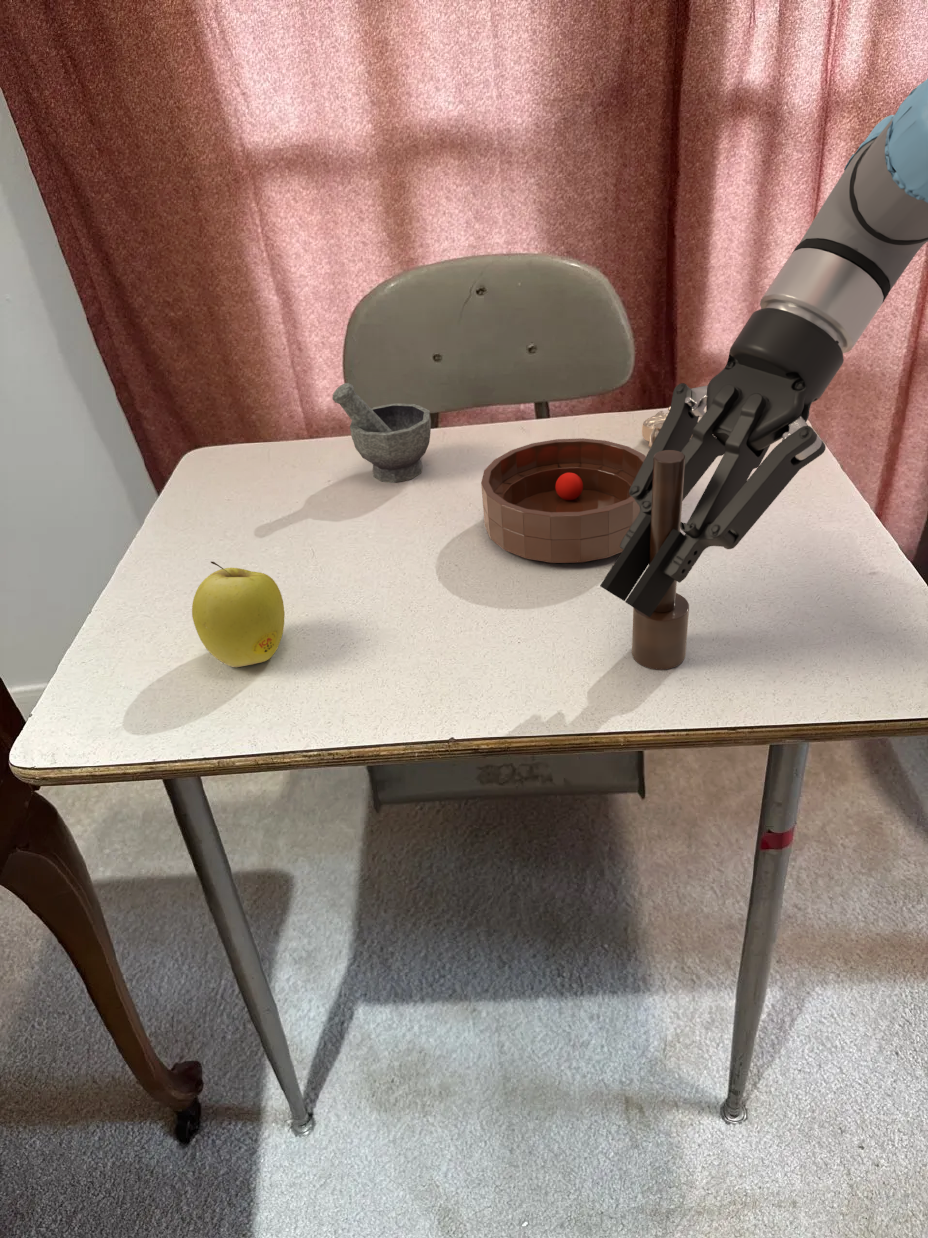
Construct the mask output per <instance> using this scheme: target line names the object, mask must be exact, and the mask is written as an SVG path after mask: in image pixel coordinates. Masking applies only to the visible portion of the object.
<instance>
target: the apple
mask: <svg viewBox="0 0 928 1238" xmlns="http://www.w3.org/2000/svg"><path fill="white" fill-rule="evenodd" d="M210 564H212V565H215V566H217V567H218V568H220V569H219V570H216V571H214V572H212V573H210V574H208V576H207V577H205V578H204V579H203V580H202V582H200V584H199V585H198V587H197V589H196V591H195V594H194V597H193V600H192V603H191V604H192V605H191V617H192V621H193V624H194V627H195V630H196V633H197V636H198V637H199V639H200V641H201V643H202V645H203V646H204V648H205V649H206V650H207V651H208V652H209V653H210V654H211V655H212V657H214V659H216V660H218V661H220V662H222V663H223V664H225V665H226V666H227V667H231V668H240V667H246V666H253V665H256V664H260V663H264V662H266V661H269V660H271V658H272V657H273V656H274V654H275V652H276V651H277V650H278V648H279V646H280V643H281V640H282V637H283V633H284V629H285V616H286V615H285V603H284V599H283V596H282V592H281V590H280V588H279V586H278V584H277V583H276V581H275V580H274V579H273V578H272V577H271V576H270V575H268V574H266V573H263V572H260V571H252V570H248V569H246V568H245V569H244V568H239V567H226V568H225V567H222V566H220V565H219V564H218V563H217V562H215V561H210Z"/></svg>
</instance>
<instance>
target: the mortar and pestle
mask: <svg viewBox="0 0 928 1238" xmlns="http://www.w3.org/2000/svg"><path fill="white" fill-rule="evenodd" d="M332 400H333V402H334V403H336V404H338V405H339V406H340V407H341V409H343V411H344V412H345V414H346V415H347V416H348V417H349V419H350V420H351V421H350V425H349V430H350V435H351V440H352V442H353V446H354V447H355V450H356V451H357V452H358V454H359V455H360V456H361V457H362V459H364V460H365V461H367V462H368V463H370V464H372V465H373V466H372V475H373V478H376V479H377V480H378V481H380V482H382V483H383V482H384V483H400V482H405V481H410V480H412V479H414V478H416V477H417V476H419V475H420V474H422V471H423V464H422V457H424V456H425V454H426V452H427V451H428V447H429V444H430V440H431V433H432V432H431V429H432V428H431V427H432V418H431V411H430V409H427V408H425V407H424V406H421V405H419V404H416V403H395V402H394V403H388V404H384V405H378V406H374V407H370V405H368V404H367V402H366V401H365V400H363V398H362V397H360V395H359V394H358V393H357V392H356V391H355V387H354V385H353V384H352V383H350V382H344V383H342V384H341V385H340V386H338V387H337V388H336V389H335V390H334V392H333V394H332Z"/></svg>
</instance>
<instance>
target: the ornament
mask: <svg viewBox="0 0 928 1238" xmlns="http://www.w3.org/2000/svg"><path fill="white" fill-rule="evenodd" d="M670 407H671V405H670V406H668V409H667V411H668V412H666V413H664V411H663V410H661V411H657V413H656V414H654V415H652V416H650V417H649V418H647V419H645V420H643V422H642V425H641V435H642V438H643V439H644V440H645V441H647V442H648V447H649V448H651V446H652V444H653V442H654V440H655V438H656V437H657V435H658V433H659V431H660V429H661V427H662V425H663V423H664V421H665V419H666V417H667V415H668V413H669V411H670ZM692 436H693V434H692ZM692 436H691V438H692ZM691 438H690V439H691Z"/></svg>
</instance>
